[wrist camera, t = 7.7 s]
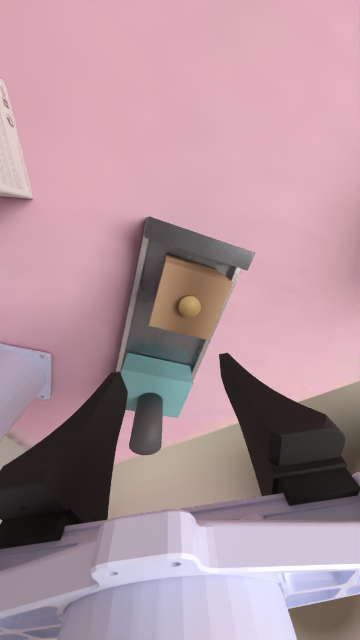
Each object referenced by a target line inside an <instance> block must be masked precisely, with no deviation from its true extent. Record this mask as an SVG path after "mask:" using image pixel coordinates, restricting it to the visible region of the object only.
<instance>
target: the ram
mask: <svg viewBox="0 0 360 640" xmlns="http://www.w3.org/2000/svg"><path fill="white" fill-rule="evenodd" d="M121 376H122V378H123V381H124V383H125V386H126V388H127V391H128V397H127V404H126V409H125V410H131V411H135V417H134V422H133V427H132V433H131V438H130V443H129V447H130V449H131V450H132V451H133V452H134V453H136V454H140V455H150V454H154V453H156V452H157V451H159V450H160V448H161V440H162V416H169V417H175V418H178V416H179V414H180V412H181V409H182V407H183V405H184V403H185V400H186V398H187V396H188V393H189V391H190V389H191V387H192V384H193V380H192V374H191V367H190V366H188V365H183V364H179V363H174V362H169V361H164V360H160V359H155V358H150V357H146V356H141V355H136V354H131V353H127V356H126V359H125V362H124V365H123V368H122V371H121Z"/></svg>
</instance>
